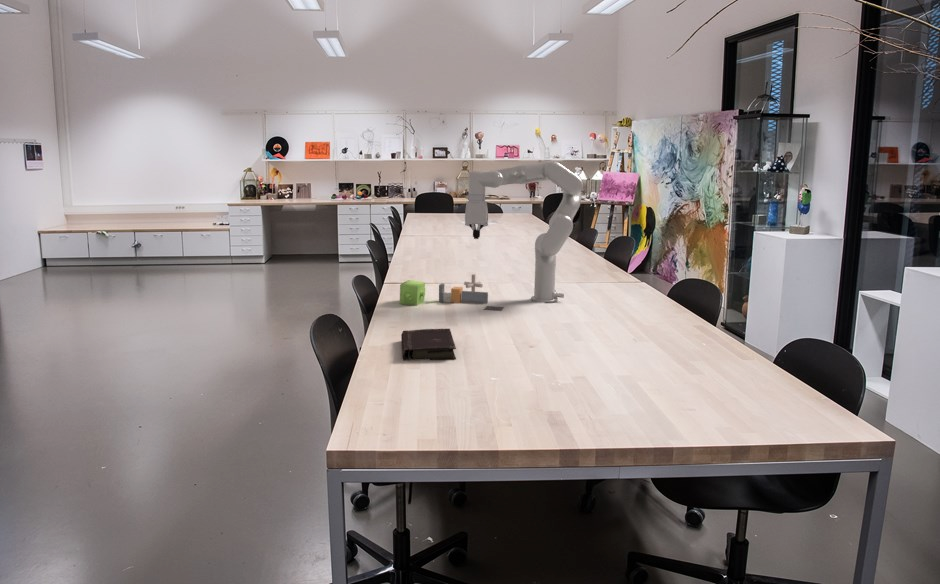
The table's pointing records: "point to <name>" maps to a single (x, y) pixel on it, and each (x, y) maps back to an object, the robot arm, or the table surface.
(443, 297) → the rail
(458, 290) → the clip
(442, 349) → the diary
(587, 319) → the table surface
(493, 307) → the pad
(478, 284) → the pipe connector
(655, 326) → the table surface
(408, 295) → the green square teapot
